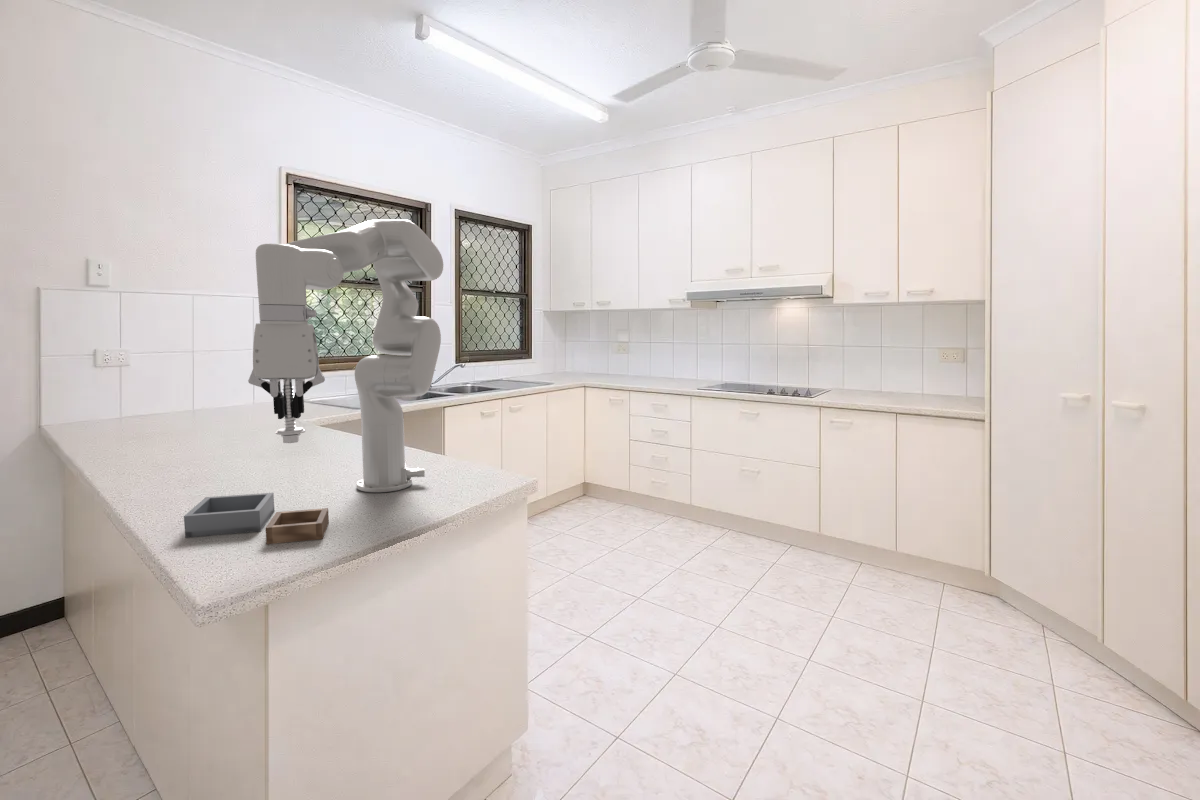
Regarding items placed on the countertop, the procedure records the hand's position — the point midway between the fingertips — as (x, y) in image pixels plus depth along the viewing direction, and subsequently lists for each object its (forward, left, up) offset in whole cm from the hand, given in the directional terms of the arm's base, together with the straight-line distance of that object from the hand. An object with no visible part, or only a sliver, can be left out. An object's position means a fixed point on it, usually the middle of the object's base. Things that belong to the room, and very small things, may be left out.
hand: (289, 416), depth 104 cm
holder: (-1, +1, -22) cm, 22 cm away
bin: (+12, -8, -22) cm, 27 cm away
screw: (0, 0, -5) cm, 5 cm away
